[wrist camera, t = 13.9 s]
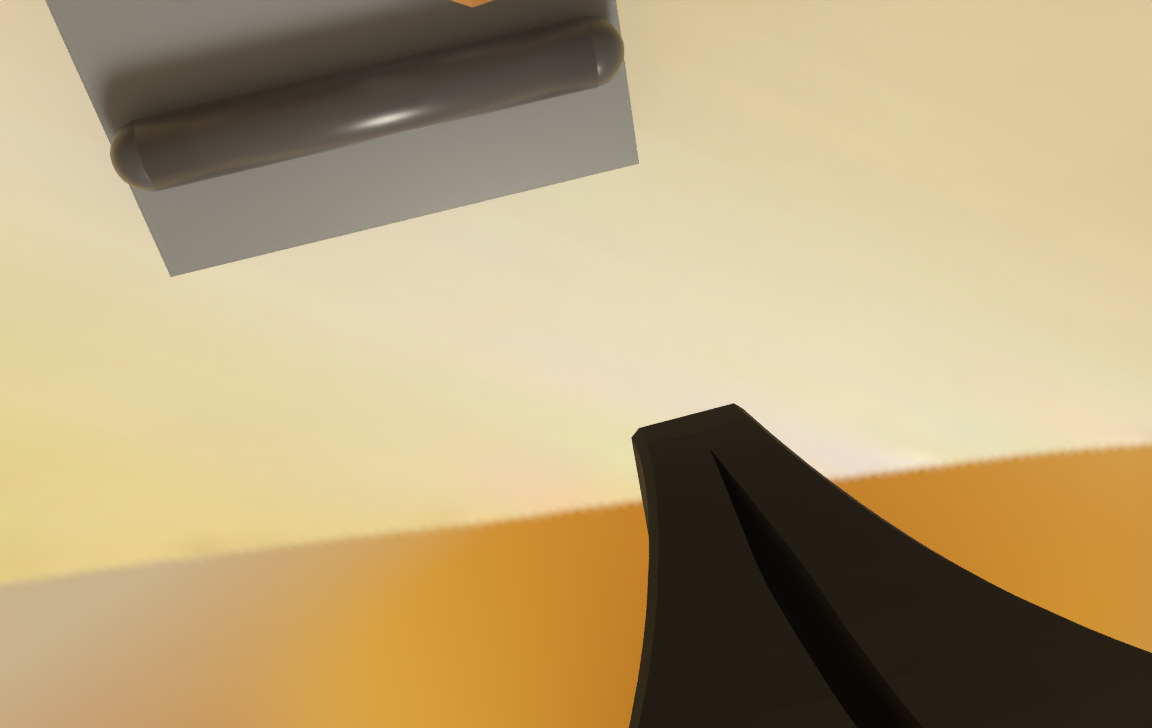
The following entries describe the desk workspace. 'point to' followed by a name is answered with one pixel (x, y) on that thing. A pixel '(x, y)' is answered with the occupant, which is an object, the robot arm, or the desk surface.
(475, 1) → the lever
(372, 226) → the strip
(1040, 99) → the desk surface
